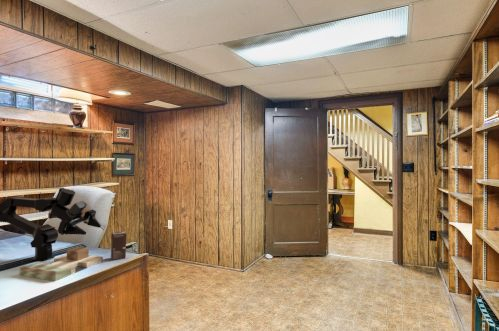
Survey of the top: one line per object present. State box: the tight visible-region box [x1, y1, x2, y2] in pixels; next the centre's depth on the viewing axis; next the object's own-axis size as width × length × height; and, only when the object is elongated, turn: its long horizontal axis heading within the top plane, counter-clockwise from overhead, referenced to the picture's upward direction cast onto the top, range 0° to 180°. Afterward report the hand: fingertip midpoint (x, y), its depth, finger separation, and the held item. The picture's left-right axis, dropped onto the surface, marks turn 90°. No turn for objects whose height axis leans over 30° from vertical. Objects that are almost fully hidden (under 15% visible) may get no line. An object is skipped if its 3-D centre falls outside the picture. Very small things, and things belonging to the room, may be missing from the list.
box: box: [110, 230, 127, 261], centre depth 142 cm, size 6×4×12 cm
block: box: [66, 246, 90, 261], centre depth 135 cm, size 6×6×4 cm
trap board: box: [19, 253, 104, 282], centre depth 128 cm, size 18×24×4 cm
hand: (93, 230), depth 135 cm, fingers open, 9 cm apart
